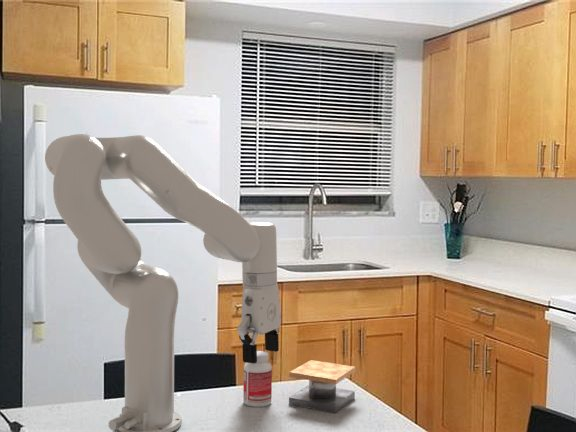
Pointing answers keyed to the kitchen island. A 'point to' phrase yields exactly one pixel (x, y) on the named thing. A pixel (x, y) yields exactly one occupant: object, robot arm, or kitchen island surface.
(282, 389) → the kitchen island surface
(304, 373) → the stand
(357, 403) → the kitchen island surface
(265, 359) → the pill bottle
